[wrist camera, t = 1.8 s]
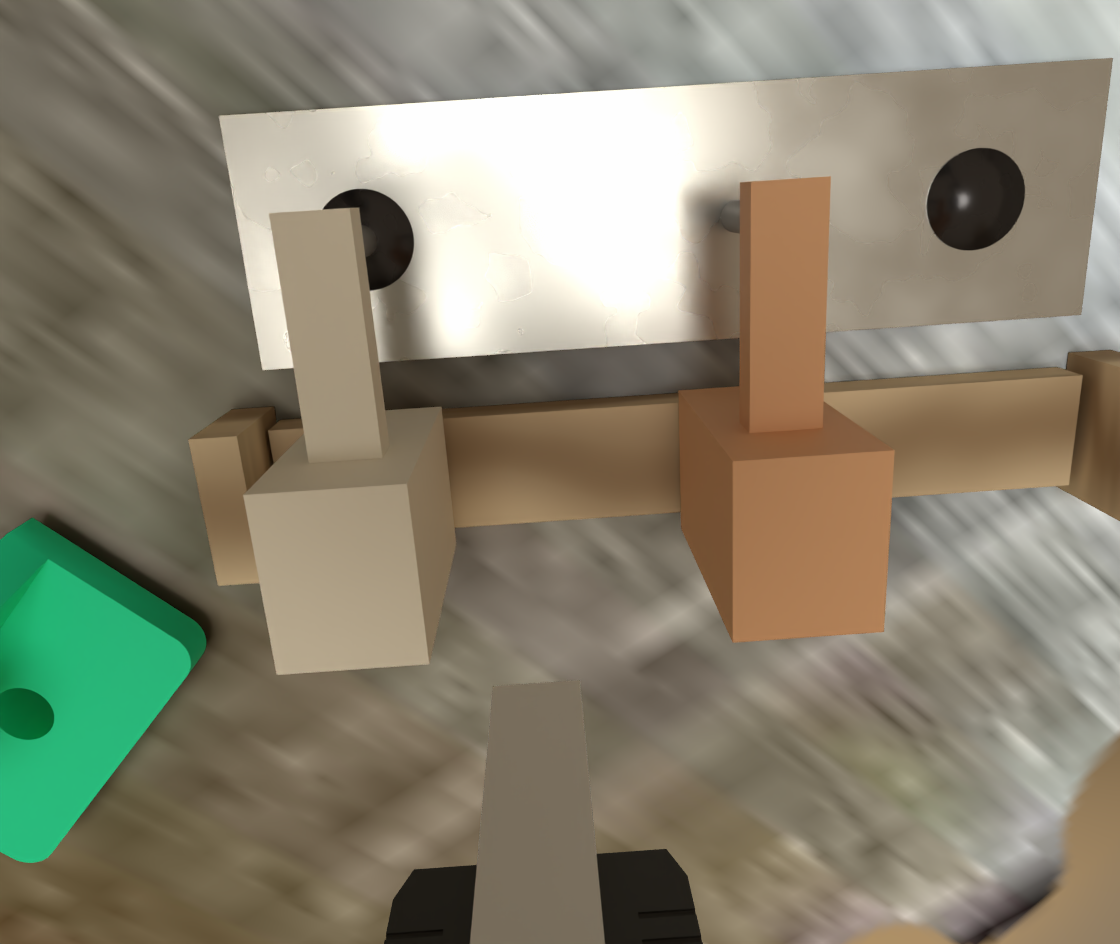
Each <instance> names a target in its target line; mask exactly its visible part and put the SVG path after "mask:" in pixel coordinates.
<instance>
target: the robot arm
mask: <svg viewBox="0 0 1120 944" xmlns="http://www.w3.org/2000/svg"><path fill="white" fill-rule="evenodd" d="M384 944H703V942H702V940H701V933H700V929H699V924H698V920H697V916H696V914H695V907H694V902H693V898H692V894H691V889H690V885H689V881H688V876H687V875H686V873H685V872H684V871H683V870H682V868H681V867H680V866H679V865H678V863H677V862H676V861H675V859H674V858H673V857H672V856H671V854H670V853H669V852H668V851H667V849H659V850H645V851H631V852H617V853H604V854H596V844H595V833H594V823H593V812H592V802H591V791H590V781H589V770H588V760H587V749H586V738H585V728H584V717H583V707H582V696H581V686H580V680H571V681H557V682H543V683H529V684H515V685H500V686H493V690H492V701H491V713H490V724H489V735H488V746H487V758H486V769H485V780H484V791H483V803H482V814H481V825H480V836H479V847H478V859H477V865H471V866H457V867H443V868H429V869H415V870H413V872H412V873H411V875H410V876H409V877H408V879H407V880H406V882H405V883H404V885H403V886H402V888H401V889H400V890H399V892H398V893H397V895H396V896H395V898H394V899H393V903H392V907H391V912H390V917H389V922H388V927H387V932H386V940H385V941H384Z"/></svg>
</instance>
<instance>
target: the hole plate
mask: <svg viewBox="0 0 1120 944" xmlns="http://www.w3.org/2000/svg"><path fill="white" fill-rule="evenodd" d="M1112 61H1113V58H1106V59H1091V60H1075V61H1060V62H1044V63H1029V64H1013V65H998V66H982V67H967V68H951V69H936V70H920V71H905V72H889V73H874V74H858V75H843V76H828V77H812V78H797V79H781V80H766V81H750V82H735V83H719V84H704V85H688V86H673V87H657V88H642V89H626V90H611V91H595V92H580V93H564V94H549V95H534V96H518V97H503V98H487V99H472V100H456V101H441V102H425V103H410V104H394V105H379V106H363V107H348V108H332V109H317V110H301V111H286V112H270V113H255V114H239V115H224V116H219V119H220V125H221V131H222V137H223V142H224V148H225V154H226V160H227V166H228V172H229V177H230V183H231V189H232V195H233V201H234V207H235V212H236V218H237V224H238V230H239V236H240V242H241V247H242V253H243V259H244V265H245V271H246V277H247V282H248V288H249V294H250V300H251V306H252V312H253V317H254V323H255V329H256V335H257V341H258V346H259V352H260V358H261V364H262V370H271V369H286V368H294V367H293V361H292V355H291V349H290V342H289V336H288V330H287V324H286V318H285V311H284V305H283V299H282V293H281V286H280V280H279V274H278V268H277V261H276V255H275V249H274V243H273V236H272V230H271V224H270V218H269V213H280V212H295V211H310V210H325V209H341V208H359V212H360V219H361V225H364V226H367V227H369V228H370V229H371V230H372V231H373V232H374V233H375V235H376V238H377V246H376V249H375V251H374V252H373V253H372V254H371V255H370V256H367V257H365V258H366V266H367V274H368V281H369V289H370V297H371V305H372V312H373V320H374V328H375V336H376V343H377V351H378V359H379V362H389V361H404V360H419V359H434V358H449V357H463V356H478V355H493V354H508V353H523V352H538V351H552V350H567V349H582V348H597V347H612V346H626V345H641V344H656V343H671V342H686V341H701V340H715V339H730V338H740V234H739V233H733V232H730V231H728V230H726V229H725V228H724V227H723V225H722V223H721V212H722V210H723V208H724V206H725V205H726V204H728V203H729V202H731V201H734V200H740V182H751V181H767V180H782V179H797V178H812V177H827V176H831V189H830V219H829V250H828V280H827V310H826V332H834V331H849V330H864V329H878V328H893V327H908V326H923V325H938V324H952V323H967V322H982V321H997V320H1012V319H1027V318H1041V317H1056V316H1071V315H1081V312H1082V304H1083V295H1084V287H1085V279H1086V271H1087V263H1088V255H1089V247H1090V239H1091V231H1092V223H1093V215H1094V207H1095V198H1096V190H1097V182H1098V174H1099V166H1100V158H1101V150H1102V142H1103V134H1104V126H1105V118H1106V110H1107V101H1108V93H1109V85H1110V77H1111V69H1112Z"/></svg>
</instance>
